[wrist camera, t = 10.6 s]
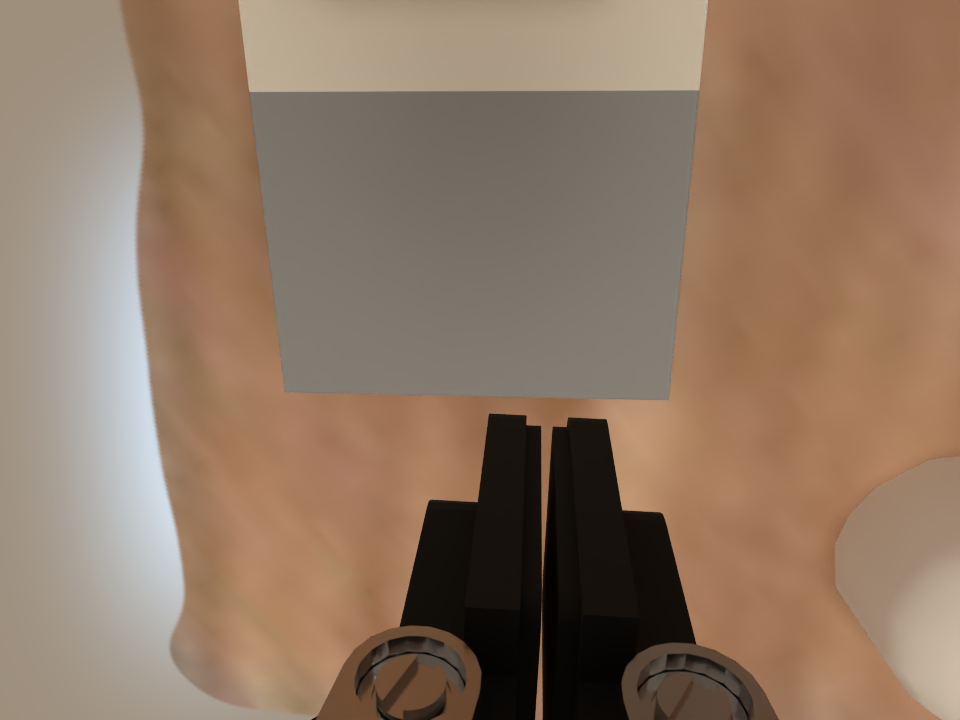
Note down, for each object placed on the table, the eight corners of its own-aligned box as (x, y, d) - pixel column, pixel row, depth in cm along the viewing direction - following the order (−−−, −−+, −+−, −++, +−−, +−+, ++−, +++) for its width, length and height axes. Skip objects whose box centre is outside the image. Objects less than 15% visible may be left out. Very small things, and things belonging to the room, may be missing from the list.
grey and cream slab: (220, -377, 25) (188, -419, 22) (730, -399, 24) (751, -445, 21) (301, 368, 35) (284, 392, 32) (659, 375, 34) (668, 400, 31)
